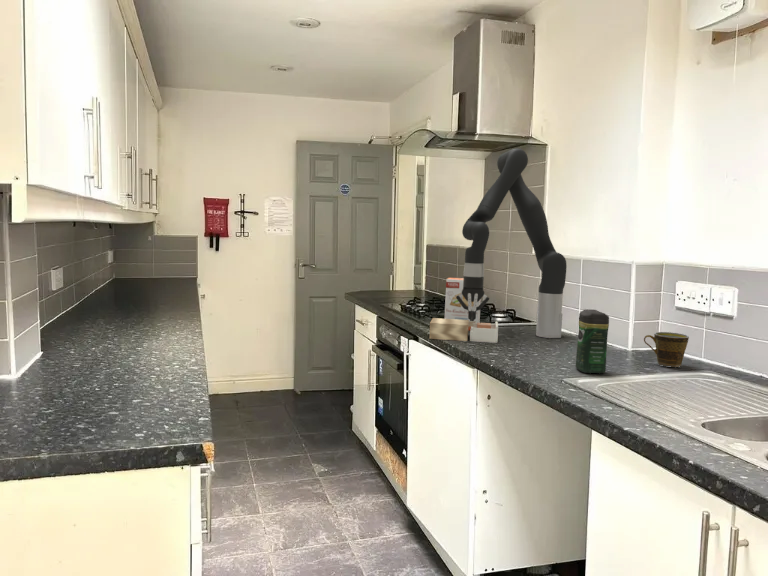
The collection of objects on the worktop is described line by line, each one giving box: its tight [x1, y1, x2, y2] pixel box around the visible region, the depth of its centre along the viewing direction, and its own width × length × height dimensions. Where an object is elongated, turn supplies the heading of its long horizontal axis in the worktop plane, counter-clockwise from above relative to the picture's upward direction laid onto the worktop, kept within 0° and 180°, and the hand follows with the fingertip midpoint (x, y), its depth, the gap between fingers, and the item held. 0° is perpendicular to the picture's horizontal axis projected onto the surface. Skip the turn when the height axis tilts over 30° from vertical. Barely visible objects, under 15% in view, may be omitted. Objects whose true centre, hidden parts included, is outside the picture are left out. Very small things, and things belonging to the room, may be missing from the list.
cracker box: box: [443, 277, 482, 332], centre depth 249 cm, size 14×6×21 cm, turn 75°
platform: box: [429, 317, 469, 342], centre depth 232 cm, size 14×12×6 cm
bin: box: [469, 321, 499, 344], centre depth 230 cm, size 10×12×6 cm
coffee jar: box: [575, 308, 610, 374], centre depth 183 cm, size 10×8×19 cm
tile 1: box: [477, 322, 492, 329], centre depth 230 cm, size 5×5×2 cm
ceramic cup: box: [643, 331, 690, 367], centre depth 194 cm, size 13×10×10 cm
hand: (471, 320), depth 230 cm, fingers closed
